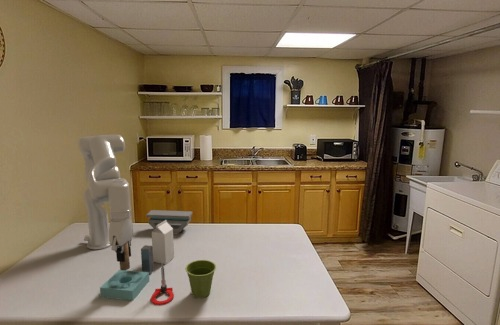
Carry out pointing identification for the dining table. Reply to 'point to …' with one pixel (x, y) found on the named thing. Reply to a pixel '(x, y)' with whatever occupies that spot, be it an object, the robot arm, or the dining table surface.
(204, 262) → the plant pot
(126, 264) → the walnut dowel
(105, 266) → the dining table surface
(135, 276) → the bore block
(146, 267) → the steel square bar
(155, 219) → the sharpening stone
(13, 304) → the dining table surface
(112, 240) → the robot arm
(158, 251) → the milk carton
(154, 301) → the tow hook
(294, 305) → the dining table surface
